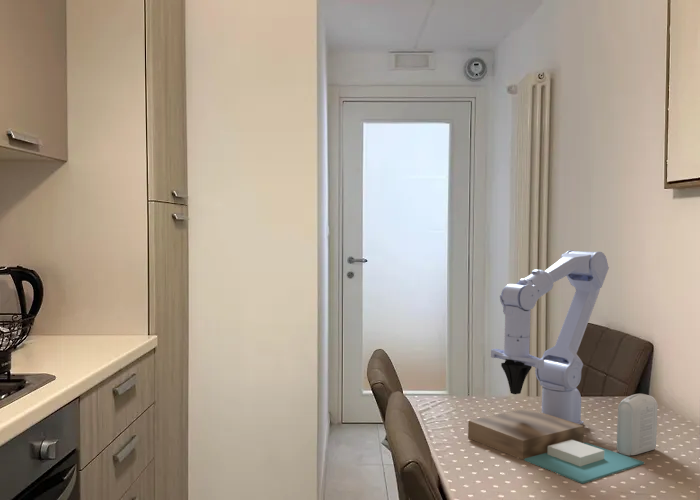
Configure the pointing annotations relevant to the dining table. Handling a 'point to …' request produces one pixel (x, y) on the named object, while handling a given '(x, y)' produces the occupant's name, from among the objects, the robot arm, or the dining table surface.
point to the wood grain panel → (523, 432)
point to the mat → (589, 471)
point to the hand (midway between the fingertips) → (515, 393)
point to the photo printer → (637, 424)
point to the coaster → (575, 452)
